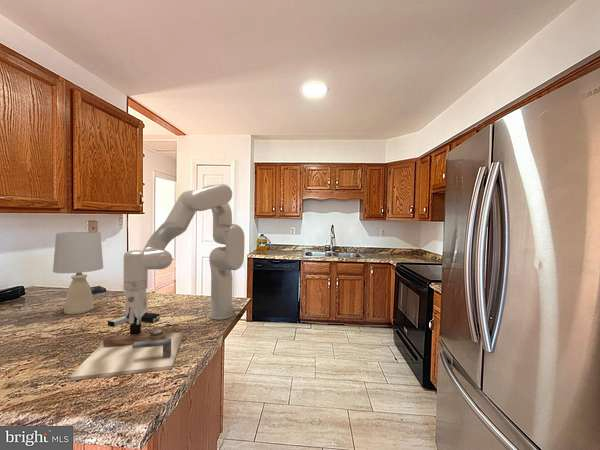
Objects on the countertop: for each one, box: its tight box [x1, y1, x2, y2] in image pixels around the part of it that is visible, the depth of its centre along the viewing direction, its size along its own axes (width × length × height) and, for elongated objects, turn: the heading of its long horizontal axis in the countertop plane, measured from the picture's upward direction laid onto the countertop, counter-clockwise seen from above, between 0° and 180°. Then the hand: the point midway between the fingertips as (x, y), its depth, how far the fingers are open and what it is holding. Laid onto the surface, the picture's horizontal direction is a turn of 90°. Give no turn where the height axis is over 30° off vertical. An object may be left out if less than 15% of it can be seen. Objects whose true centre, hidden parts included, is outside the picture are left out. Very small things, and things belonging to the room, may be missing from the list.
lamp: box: [52, 231, 104, 315], centre depth 132 cm, size 19×19×37 cm
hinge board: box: [68, 328, 184, 382], centre depth 92 cm, size 26×25×6 cm
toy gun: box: [107, 312, 161, 328], centre depth 119 cm, size 3×16×12 cm
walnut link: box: [102, 331, 167, 346], centre depth 98 cm, size 19×4×2 cm, turn 105°
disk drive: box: [90, 285, 107, 295], centre depth 162 cm, size 10×3×15 cm
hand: (135, 334), depth 102 cm, fingers closed
